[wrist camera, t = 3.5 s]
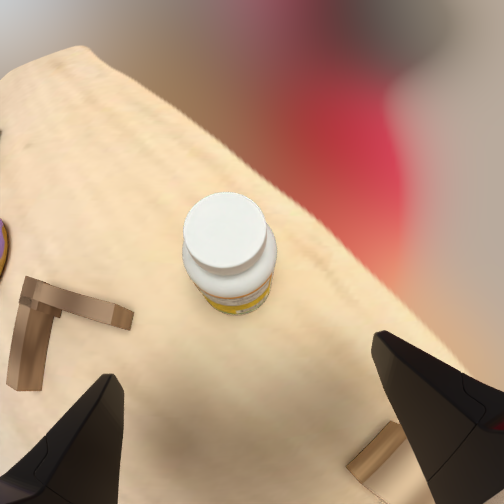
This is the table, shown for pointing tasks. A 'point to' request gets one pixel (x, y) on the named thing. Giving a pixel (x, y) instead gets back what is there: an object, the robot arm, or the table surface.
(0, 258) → the donut
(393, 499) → the beam
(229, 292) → the supplement bottle
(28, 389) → the v block
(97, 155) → the table surface
